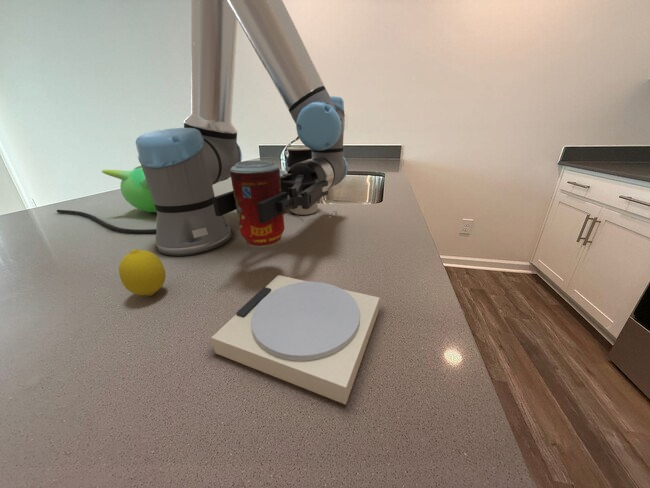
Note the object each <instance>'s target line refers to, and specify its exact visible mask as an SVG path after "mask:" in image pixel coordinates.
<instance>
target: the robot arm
mask: <svg viewBox="0 0 650 488" xmlns="http://www.w3.org/2000/svg"><path fill="white" fill-rule="evenodd" d="M190 2H191V6H190V9H191V10H190V11H191V13H190V15H191V16H190V17H191V18H190V19H191V22H190V23H191V24H190V28H191V29H190V30H191V33H190V34H191V35H190V36H191V37H190V38H191V39H190V41H191V42H190V43H191V47H190V48H191V49H190V50H191V53H190V54H191V55H190V56H191V58H190V59H191V61H190V62H191V63H190V64H191V66H190V67H191V69H190V70H191V71H190V72H191V74H190V75H191V77H190V79H191V81H190V82H191V85H190V86H191V87H190V89H191V91H190V92H191V93H190V94H191V96H190V97H191V99H190V100H191V101H190V102H191V103H190V104H191V105H190V106H191V107H190V108H191V109H190V110H191V111H190V112H191V114H189V116H187V117H186V118H185V119H184V120H183V127H174V128H166V129H165V128H164V129H158V130H151V131H148V132H144V133H142V134H140V135H138V136H137V138H136V139H135V147H136V151H137V160H138V162H139V163H140V166H142V169H143V172H144V175H145V178H146V181H147V184H148V187H149V190H150V193H151V196H152V199H153V202H154V205H155V208H156V212H155V213H156V228H148V229H135V228H123V227H118V226H115V225H112V224H110V223H108V222H106V221H104V220H102V219H101V218H98V217H97V216H95V215H94V214H93V215H92V214H90V213H87V212H83V211H78V210H69V209H57V210H56V212H57V213H59V214H70V215H72V214H73V215H79V216H84V217H87V218H90V219H92V220H93V221H95V222H97V223H98V224H100V225H102V226H104V227H106V228H108V229H111V230H113V231H116V232H120V233H126V234H127V233H128V234H156V235H155V245H156V247H157V249H158V251H159V252H160V253H161V254H163V255H168V256H175V257H179V256H181V257H183V256H192V255H197V254H203V253H206V252H209V251H211V250H215V249H217V248H220V247H221V246H223V245H225V244H226V243H227V242H228V241H229V240H230V239H231V237H232V232H231V227H230V225H229V223H228V222H227V221H226V219H225V217H224V215H227V214H229V213H231V212H233V211H235V210H236V204H235V198H234V192H233V190H231V191H228V192H225V193H222V194H219V195H216V196H215V191H214V186H213V185H215V184H218V183H221V182H224V181H226V180H229V179H231V175H230V169H231V168H232V167H233V166H234V165H235V164H236V163H239V162H242V160H243V156H242V150H241V147H240V145H239V144H238V142H237V141H238V130H237V129H236V127H235V126H234V124H233V123H232V117H233V102H234V101H233V100H234V85H235V69H236V68H235V67H236V52H237V51H236V50H237V36H238V23H239V25H240V27H241V29H242V30H243V33H244V34H245V35H246V37H247V39H248V41H249V42H250V44H251V46H252V48H253V50H254V51H255V53H256V56H257V57H258V59H259V61H260V62H261V64H262V66H263V68H264V70H265V71H266V73H267V74H268V77H269V78H270V81H272V83H273V85H274V87H275V89H276V91H277V92H278V95H279V96H280V97H281V99H282V101H283V103H284V105H285V106H286V108H287V110H288V112H289V114H290V116H291V118H292V120H293V122H294V123H295V126H296V127H295V128H296V133H297V137H298V138H299V140H300V141H301V143H302V144H303V146H307V147H308V148H310V149H312V159H308V160H305V161H303V162H299V163H296V164H294V165H293V166H291V168H290V169H289V171H288V170H287V172H288V173H287V174H284V175H283V176H280V182H281V193H279V194H277V195H275V196H272V197H270V198H268V199H266V200H263V201H261V202H259V203H257V207H258V214H259V222H260V223H266V222H267V221H269V220H271V219H273V218H274V217H276V216H278V215H280V214H281V213H283V214H284V213H285V212H288V211H290V210H291V209H296V208H298V206H302V208H303V209H309V208H310V207H311V206H312V205H313V204H315V203H316V202H317V203H318V201H319V200H320V199H321V198H323V197H325V196H328V195H329V189H330V188H332V187H334V186H337V185H338V184H340V183H341V182H342V181H343V180H344V179H345V178H346V177H347V174H348V171H349V164H348V161H347V160H346V158H345V157H344V134H345V132H344V131H345V101H344V99H343V98H342V97H340V96H333V95H332V96H331V95H330V94H329V92H328V90H327V89H326V87H325V84H324V82H323V80H322V77H321V76H320V74H319V72H318V70H317V67H316V66H315V64H314V62H313V60H312V58H311V56H310V54H309V51H308V49H307V48H306V45H305V44H304V41H303V40H302V37H301V35H300V33H299V31H298V29H297V27H296V25H295V23H294V21H293V19H292V17H291V15H290V13H289V11H288V9H287V7H286V5H285V3H284V1H283V0H190ZM236 211H237V210H236Z"/></svg>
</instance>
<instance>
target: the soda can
mask: <svg viewBox="0 0 650 488" xmlns="http://www.w3.org/2000/svg"><path fill="white" fill-rule="evenodd" d="M280 170H281V169H280V167H279V166H278V165H277V164H276V163H274V162H273V161H271V160H243V161H241V162H239V163H236V164H235V165H234V166H233V167H232V168H231V169H230V175H231V177H230V180H231V186H232V191H233V192H234V198H235V204H236V215H237V222H238V227H239V233H240V235H241V236H242V237H243V239H244V240H245V242H246V244H247V245H248V246H250V247H255V248H266V247H270V246H274V245H276V244H278V243H279V242H280V241H281V240H282V236H283V233H284V231H285V219H284V212H283V213H281V214H280V215H278V216H276V217H274V218H273V219H271V220H269V221H267V222H266V223H260V222H259V214H258V207H257V203H259V202H261V201H263V200H266V199H268V198H270V197H272V196H275V195H277V194H279V193H281V182H280Z"/></svg>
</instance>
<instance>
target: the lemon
mask: <svg viewBox="0 0 650 488" xmlns="http://www.w3.org/2000/svg"><path fill="white" fill-rule="evenodd" d="M118 273H119V275H118V276H119V279H120V281H121V283H122V285H123V286H124V288H125V289H126V290H127V291H128V292H130V293H131V294H134V295H137V296H150V297H151V296H153V295H155V294H156V292H158V291H159V290H160V289H161V288H162V287H163V285H164V284H165V281H166V276H167V275H166V270H165V266H164V264H163V262H162V260H161V259H160V258H159V256H158V255H156V254H155V253H154V252H151V251H148V250H145V249H137V248H134V249H132V250H131V251H130V252H128V253H127V254H126V255H125V256H124V257H123V258H121V261H120V263H119V265H118Z"/></svg>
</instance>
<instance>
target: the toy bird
mask: <svg viewBox="0 0 650 488" xmlns="http://www.w3.org/2000/svg"><path fill="white" fill-rule="evenodd" d="M101 173H103V174H105V175H107V176H110V177H112V178H115V179H119V180H121V181H120V187H119V188H120V192H121V195H122V197H123V198H124V199H125V201H126V202H127V203H128V204H129V205H131V206H132V207H134V208H136V209H138V210H140V211H142V212H143V211H144V212H148V213H157V212H156V208H155V205H154V202H153V199H152V196H151V193H150V190H149V187H148V184H147V181H146V178H145V175H144V172H143V169H142V166H141V165H139V166H136V167H134V168H131V169H130V170H121V169H102V170H101Z"/></svg>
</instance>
